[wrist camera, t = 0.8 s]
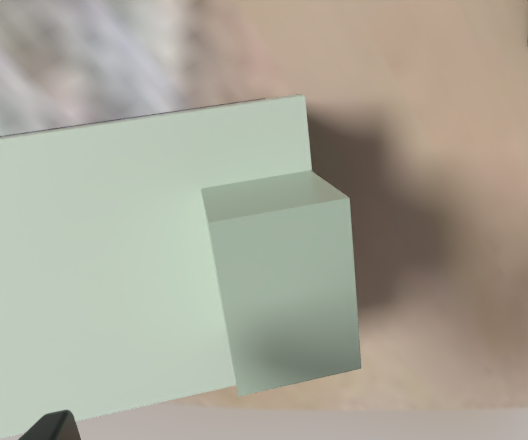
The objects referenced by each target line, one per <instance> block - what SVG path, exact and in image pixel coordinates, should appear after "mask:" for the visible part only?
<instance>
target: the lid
mask: <svg viewBox="0 0 528 440" xmlns="http://www.w3.org/2000/svg"><path fill="white" fill-rule="evenodd" d="M356 369H361V355H360V340H359V326H358V311H357V297H356V283H355V268H354V254H353V240H352V225H351V211H350V198H349V197H348V196H346V195H345V194H344V193H342V192H341V191H339V190H338V189H336V188H335V187H334V186H332V185H331V184H329V183H328V182H327V181H325V180H324V179H322V178H321V177H319V176H318V175H317V174H315V173H314V172H312V165H311V155H310V144H309V133H308V123H307V112H306V102H305V95H299V94H297V95H290V96H283V97H276V98H269V99H262V100H255V101H248V102H241V103H234V104H228V105H221V106H214V107H207V108H200V109H193V110H186V111H179V112H172V113H165V114H158V115H151V116H144V117H137V118H130V119H123V120H116V121H109V122H102V123H96V124H89V125H82V126H75V127H68V128H61V129H54V130H47V131H40V132H33V133H26V134H19V135H12V136H5V137H0V439H1V438H5V437H10V436H14V435H18V434H23V433H26V432H27V431H28V430H29V429H30V428H31V427H32V426H33V425H34V424H35V423H36V422H37V421H38V420H39V419H40V418H41V417H42V416H43V415H45V414H47V413H52V412H56V411H61V410H70V411H71V412H72V414H73V415H74V418H75V422H76V421H80V420H84V419H89V418H94V417H98V416H102V415H107V414H111V413H115V412H120V411H125V410H129V409H133V408H138V407H142V406H147V405H150V404H155V403H160V402H164V401H169V400H173V399H178V398H182V397H186V396H191V395H195V394H200V393H204V392H209V391H213V390H217V389H222V388H226V387H231V386H235V385H236V386H237V391H238V396H243V395H248V394H252V393H256V392H261V391H265V390H269V389H274V388H278V387H282V386H287V385H291V384H295V383H300V382H304V381H309V380H313V379H317V378H322V377H326V376H330V375H335V374H339V373H343V372H348V371H352V370H356Z"/></svg>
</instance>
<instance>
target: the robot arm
mask: <svg viewBox="0 0 528 440" xmlns="http://www.w3.org/2000/svg"><path fill="white" fill-rule="evenodd" d="M19 440H81V438H80V435H79V432H78V428H77V425H76V422H75V418H74V415H73V414H72V412H71V411H70V410H61V411H56V412H52V413H47V414H45V415H43V416H42V417H41V418H40V419H39V420H38V421H37V422H36V423H35V424H34V425H33V426H32V427H31V428H30V429H29V430H28V431H27V432H26V433H25V434H24V435H22V436H21V437H20V438H19Z"/></svg>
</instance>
